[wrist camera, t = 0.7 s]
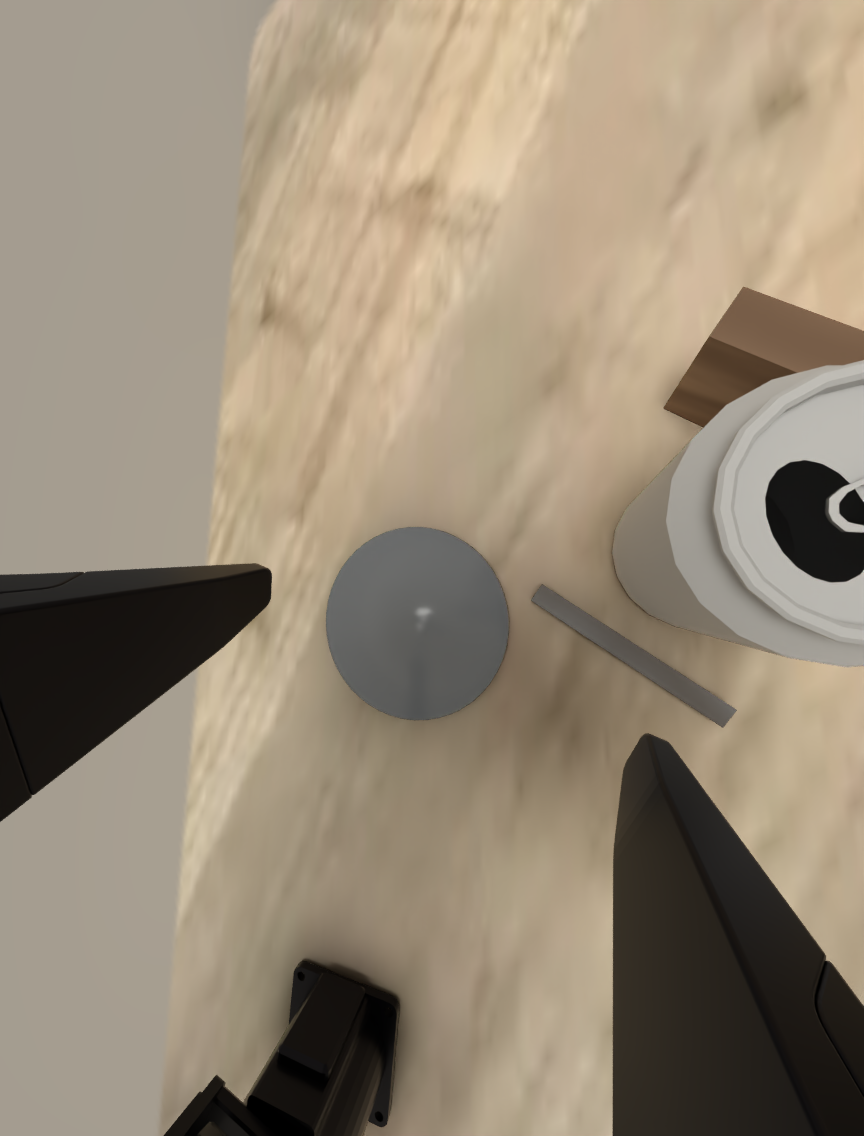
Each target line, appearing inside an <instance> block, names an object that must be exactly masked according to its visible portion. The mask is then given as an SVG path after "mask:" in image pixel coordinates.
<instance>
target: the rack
mask: <svg viewBox="0 0 864 1136" xmlns="http://www.w3.org/2000/svg"><path fill="white" fill-rule="evenodd" d="M862 360H864V331H862V330H859V329H857V328H854V327H851V326H849V325H846V324H843V323H840V322H838V321H835V320H832V319H830V318H827V317H824V316H822V315H819V314H816V313H813V312H811V311H808V310H805V309H803V308H800V307H797V306H794V305H792V304H789V303H786V302H784V301H781V300H778V299H776V298H773V297H770V296H767V295H765V294H762V293H759V292H757V291H754V290H751V289H748V288H746V287H743V288H742V289H741V291H740V292H739V294H738V295H737V297H736V298H735V299H734V301H733V302H732V304H731V305H730V307H729V308H728V310H727V311H726V313H725V314H724V316H723V317H722V318H721V320H720V321H719V323H718V324H717V326H716V327H715V329H714V330H713V332H712V333H711V334H710V336H709V337H708V339H707V341H706V342H705V344H704V345H703V347H702V348H701V350H700V352H699V353H698V355H697V356H696V358H695V359H694V361H693V363H692V364H691V366H690V367H689V369H688V370H687V372H686V374H685V375H684V377H683V378H682V380H681V381H680V383H679V385H678V386H677V388H676V389H675V391H674V392H673V394H672V395H671V397H670V399H669V400H668V402H667V403H666V405H665V406H664V409H666V410H668V411H670V412H673V413H675V414H677V415H679V416H681V417H683V418H685V419H687V420H690V421H692V422H694V423H696V424H698V425H700V426H702V427H705V426H706V425H707V424H708V423H709V422H710V421H711V420H712V419H713V418H714V417H715V416H716V415H717V414H718V413H719V412H720V411H721V410H722V409H723V408H724V407H725V406H726V405H727V404H729V403H731V402H733V401H734V400H736V399H738V398H740V397H742V396H743V395H745V394H747V393H749V392H751V391H752V390H754V389H756V388H758V387H760V386H761V385H763V384H765V383H767V382H769V381H770V380H772V379H776V378H780V377H784V376H788V375H792V374H796V373H799V372H803V371H807V370H811V369H815V368H819V367H823V366H827V365H847V364H850V363H854V362H858V361H862ZM531 601H533V602H534V603H536V604H537V605H539V606H540V607H542V608H543V609H545V610H546V611H548V612H549V613H551V614H552V615H554V616H555V617H557V618H558V619H560V620H561V621H563V622H564V623H566V624H567V625H569V626H570V627H572V628H573V629H575V630H576V631H578V632H579V633H581V634H582V635H584V636H585V637H587V638H588V639H590V640H591V641H593V642H594V643H596V644H597V645H599V646H600V647H602V648H603V649H605V650H606V651H608V652H609V653H611V654H612V655H614V656H615V657H617V658H618V659H620V660H622V661H623V662H625V663H626V664H628V665H629V666H631V667H632V668H634V669H635V670H637V671H638V672H640V673H641V674H643V675H644V676H646V677H647V678H649V679H650V680H652V681H653V682H655V683H656V684H658V685H659V686H661V687H662V688H664V689H665V690H667V691H668V692H670V693H671V694H673V695H674V696H676V697H677V698H679V699H680V700H682V701H683V702H685V703H686V704H688V705H689V706H691V707H692V708H694V709H695V710H697V711H698V712H700V713H701V714H703V715H704V716H706V717H707V718H709V719H710V720H712V721H713V722H715V723H716V724H718V725H720V726H721V727H724V726H725V725H726V723H727V722H728V721H729V720H730V718H731V717H732V716H733V714H734V713H735V712H736V711H737V710H736V709H735V708H733V707H732V706H730V705H728V704H727V703H725V702H724V701H722V700H721V699H719V698H718V697H716V696H714V695H713V694H711V693H710V692H708V691H707V690H705V689H704V688H702V687H701V686H699V685H697V684H696V683H694V682H693V681H691V680H690V679H688V678H687V677H685V676H684V675H682V674H680V673H679V672H677V671H676V670H674V669H673V668H671V667H670V666H668V665H666V664H665V663H663V662H662V661H660V660H659V659H657V658H656V657H654V656H653V655H651V654H649V653H648V652H646V651H645V650H643V649H642V648H640V647H639V646H637V645H635V644H634V643H632V642H631V641H629V640H628V639H626V638H625V637H623V636H622V635H620V634H618V633H617V632H615V631H614V630H612V629H611V628H609V627H608V626H606V625H605V624H603V623H601V622H600V621H598V620H597V619H595V618H594V617H592V616H591V615H589V614H587V613H586V612H584V611H583V610H581V609H580V608H578V607H577V606H575V605H574V604H572V603H570V602H569V601H567V600H566V599H564V598H563V597H561V596H560V595H558V594H557V593H555V592H553V591H552V590H550V589H549V588H547V587H546V586H544V585H543V584H542V585H541V586H540V588H539V589H538V591H537V592H536V594H535V595H534V597H533V598H532V599H531Z"/></svg>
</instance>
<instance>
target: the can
mask: <svg viewBox="0 0 864 1136" xmlns="http://www.w3.org/2000/svg"><path fill="white" fill-rule="evenodd" d="M612 555H613V560H614V565H615V570H616V574H617V577H618V579H619V581H620V582H621V584H622V586H623V587H624V589H625V591H626V592H627V594H628V596H629V597H630V598H631V599H632V600H633V601H634V602H635V603H636V604H638V605H639V606H640V607H641V608H642V609H643V610H644V611H646V612H647V613H648V614H649V615H651V616H653V617H655V618H658V619H660V620H662V621H664V622H666V623H668V624H671V625H673V626H676V627H679V628H683V629H686V630H690V631H694V632H697V633H701V634H704V635H708V636H712V637H715V638H719V639H722V640H726V641H730V642H733V643H737V644H740V645H744V646H748V647H751V648H755V649H759V650H762V651H766V652H769V653H773V654H777V655H780V656H784V657H787V658H793V659H799V660H805V661H811V662H817V663H823V664H829V665H836V666H842V667H857V666H864V360H862V361H858V362H854V363H850V364H847V365H827V366H823V367H819V368H815V369H811V370H807V371H803V372H799V373H796V374H792V375H788V376H784V377H780V378H776V379H772V380H770V381H769V382H767V383H765V384H763V385H761V386H760V387H758V388H756V389H754V390H752V391H751V392H749V393H747V394H745V395H743V396H742V397H740V398H738V399H736V400H734V401H733V402H731V403H729V404H727V405H726V406H725V407H724V408H723V409H722V410H721V411H720V412H719V413H718V414H717V415H716V416H715V417H714V418H713V419H712V420H711V421H710V422H709V423H708V424H707V425H706V426H705V427H704V428H703V429H702V430H701V431H700V432H699V433H698V434H697V435H696V436H695V437H694V438H693V439H692V440H691V441H690V442H689V443H688V444H687V445H686V446H685V447H684V448H683V449H682V450H681V451H680V452H679V453H678V454H677V455H676V457H675V458H674V459H673V460H672V461H671V462H670V463H669V464H668V465H667V466H666V467H665V468H664V469H663V470H662V471H661V472H660V473H659V474H658V475H657V476H656V477H655V478H654V479H653V481H652V482H651V483H650V484H649V485H648V486H647V487H646V488H645V489H644V490H643V491H642V492H641V493H640V494H639V495H638V496H637V497H636V498H635V499H634V500H633V501H632V502H631V503H630V505H629V506H628V507H627V508H626V509H625V511H624V513H623V515H622V517H621V519H620V521H619V523H618V525H617V527H616V529H615V535H614V542H613V549H612Z"/></svg>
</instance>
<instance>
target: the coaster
mask: <svg viewBox="0 0 864 1136" xmlns="http://www.w3.org/2000/svg"><path fill="white" fill-rule="evenodd" d="M326 630H327V638H328V643H329V648H330V651H331V654H332V657H333V660H334V662H335V664H336V667H337V669H338V671H339V672H340V674H341V676H342V677H343V679H344V680H345V682H346V683H347V684H348V685H349V687H350V688H351V689H352V690H353V691H354V692H355V693H356V694H357V695H358V696H359V697H360V698H361V699H362V700H364V701H365V702H366V703H368V704H369V705H370V706H372V707H374V708H376V709H377V710H379V711H381V712H384V713H386V714H388V715H391V716H394V717H398V718H402V719H410V720H429V719H435V718H440V717H443V716H446V715H450V714H452V713H454V712H456V711H458V710H460V709H462V708H464V707H465V706H467V705H468V704H470V703H471V702H472V701H474V700H475V699H476V698H477V697H478V696H479V695H480V694H481V693H482V692H483V691H484V690H485V689H486V687H487V686H488V685H489V684H490V682H491V681H492V679H493V678H494V676H495V674H496V673H497V671H498V669H499V667H500V665H501V662H502V660H503V657H504V654H505V650H506V647H507V641H508V634H509V616H508V608H507V603H506V599H505V595H504V592H503V590H502V587H501V585H500V582H499V580H498V578H497V577H496V575H495V573H494V571H493V570H492V568H491V567H490V566H489V564H488V563H487V562H486V560H485V559H484V558H483V557H482V556H481V555H480V554H479V553H478V552H477V551H476V550H475V549H473V548H472V547H471V546H469V545H468V544H467V543H465V542H464V541H462V540H460V539H458V538H457V537H455V536H453V535H450V534H448V533H446V532H443V531H439V530H435V529H432V528H423V527H407V528H400V529H395V530H392V531H388V532H385V533H383V534H381V535H379V536H376V537H374V538H373V539H371V540H370V541H368V542H366V543H365V544H364V545H362V546H361V547H360V548H359V549H357V550H356V551H355V552H354V553H353V554H352V556H351V557H350V558H349V559H348V560H347V561H346V563H345V564H344V566H343V567H342V568H341V570H340V572H339V574H338V575H337V577H336V579H335V582H334V584H333V587H332V589H331V592H330V596H329V600H328V606H327V612H326Z"/></svg>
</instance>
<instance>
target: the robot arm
mask: <svg viewBox="0 0 864 1136" xmlns="http://www.w3.org/2000/svg"><path fill="white" fill-rule="evenodd" d="M271 583H272V573H271V571H270V570H269V569H268V568H266V567H264V566H261V565H259V564H255V563H252V564H232V565H212V566H192V567H171V568H151V569H131V570H111V571H91V572H85V573H84V572H71V573H70V572H69V573H47V574H17V575H15V574H13V575H0V822H1V821H2V820H3V819H5V818H6V817H7V816H8V815H10V814H11V813H12V812H14V811H15V810H16V809H17V808H19V807H20V806H21V805H23V804H24V803H25V802H26V801H28V800H29V799H30V798H31V797H32V795H34V794H36V793H37V792H39V791H40V790H41V789H43V788H44V787H45V786H46V785H48V784H49V783H50V782H51V781H53V780H54V779H55V778H57V777H58V776H59V775H60V774H62V773H63V772H64V771H65V770H67V769H68V768H69V767H71V766H72V765H73V764H74V763H76V762H77V761H78V760H80V759H81V758H82V757H83V756H85V755H86V754H87V753H88V752H90V751H91V750H92V749H94V748H95V747H96V746H97V745H99V744H100V743H101V742H103V741H104V740H105V739H106V738H108V737H109V736H110V735H112V734H113V733H114V732H115V731H117V730H118V729H119V728H121V727H122V726H123V725H124V724H126V723H127V722H128V721H130V720H131V719H132V718H133V717H135V716H136V715H137V714H138V713H140V712H141V711H142V710H144V709H145V708H146V707H148V706H149V705H150V704H151V703H153V702H154V701H155V700H156V699H158V698H159V697H160V696H161V695H163V694H164V693H165V692H167V691H168V690H169V689H171V688H172V687H173V686H174V685H176V684H177V683H178V682H180V681H181V680H182V679H183V678H185V677H186V676H187V675H188V674H190V673H191V672H192V671H194V670H195V669H196V668H197V667H199V666H200V665H201V664H203V663H204V662H205V661H206V660H208V659H209V658H210V657H212V656H213V655H214V654H215V653H217V652H218V651H219V650H220V649H221V648H223V647H224V646H225V645H226V644H227V643H228V642H229V641H231V640H232V639H233V638H234V637H235V636H236V635H237V634H238V633H239V632H240V631H241V630H242V629H243V628H244V627H245V626H247V625H248V624H249V623H250V622H251V621H252V620H253V619H254V618H255V617H256V616H257V615H258V614H259V613H260V612H261V611H262V610H263V609H265V608H266V606H267V605H268V604H269V602H270V599H271ZM825 960H826V955H825V953H824V952H823V951H822V949H821V948H820V946H819V945H818V944H817V942H816V941H815V940H814V938H813V937H812V936H811V934H810V933H809V932H808V930H807V929H806V927H805V926H804V925H803V923H802V922H801V921H800V919H799V918H798V917H797V915H796V914H795V913H794V911H793V910H792V908H791V907H790V906H789V904H788V903H787V902H786V900H785V899H784V898H783V896H782V895H781V894H780V892H779V891H778V889H777V888H776V887H775V885H774V884H773V883H772V881H771V880H770V879H769V877H768V876H767V875H766V873H765V872H764V870H763V869H762V868H761V866H760V865H759V864H758V862H757V861H756V860H755V858H754V857H753V856H752V854H751V853H750V851H749V850H748V849H747V847H746V846H745V845H744V843H743V842H742V841H741V839H740V838H739V836H738V835H737V834H736V832H735V831H734V830H733V828H732V827H731V826H730V824H729V823H728V822H727V820H726V819H725V817H724V816H723V815H722V813H721V812H720V811H719V809H718V808H717V807H716V805H715V804H714V803H713V801H712V800H711V798H710V797H709V796H708V794H707V793H706V792H705V790H704V789H703V788H702V786H701V785H700V784H699V782H698V781H697V779H696V778H695V777H694V775H693V774H692V773H691V771H690V770H689V769H688V767H687V766H686V765H685V763H684V762H683V760H682V759H681V758H680V756H679V755H678V754H677V752H676V751H675V750H674V748H673V747H672V746H671V744H670V743H669V742H667V741H665V740H663V739H661V738H658V737H656V736H654V735H651V734H649V733H647V734H644V735H643V736H642V737H641V738H640V740H639V742H638V743H637V745H636V747H635V748H634V750H633V751H632V753H631V755H630V756H629V758H628V760H627V762H626V764H625V767H624V770H623V776H622V784H621V792H620V800H619V808H618V817H617V825H616V833H615V842H614V856H613V1136H864V1006H863V1004H862V1003H861V1002H860V1000H859V999H858V998H857V996H856V995H855V994H854V992H853V991H852V990H851V988H850V987H849V986H848V984H847V983H846V981H845V980H844V979H843V977H842V976H841V975H840V973H839V972H838V971H837V969H836V968H835V967H834V965H833V964H832V963H831V962H829V961H825ZM302 972H303V973H304V974H303V973H302ZM388 1007H389V1008H390V1009H391V1010H390V1009H389V1008H388ZM398 1019H399V1003H398V1001H397V1000H396V998H395V997H393V996H391V995H389V994H386V993H384V992H381V991H379V990H376V989H374V988H371V987H369V986H366V985H364V984H361V983H359V982H356V981H354V980H351V979H349V978H346V977H344V976H341V975H339V974H336V973H334V972H331V971H329V970H326V969H324V968H321V967H319V966H316V965H314V964H311V963H309V962H306V961H302V962H300V963H299V964H298V966H297V967H296V969H295V971H294V977H293V987H292V997H291V1008H290V1018H289V1026H288V1028H287V1029H286V1031H285V1033H284V1034H283V1036H282V1038H281V1040H280V1041H279V1043H278V1045H277V1046H276V1048H275V1050H274V1051H273V1053H272V1055H271V1056H270V1058H269V1060H268V1061H267V1063H266V1065H265V1066H264V1068H263V1070H262V1072H261V1073H260V1075H259V1077H258V1078H257V1080H256V1082H255V1083H254V1085H253V1087H252V1088H251V1090H250V1092H249V1093H248V1095H247V1097H246V1098H245V1100H244V1102H242V1101H240V1100H239V1099H238V1098H237V1097H236V1096H235V1095H234V1094H233V1093H232V1092H231V1091H230V1090H228V1089H227V1088H226V1087H225V1086H224V1085H225V1082H224V1081H223V1080H222V1079H221V1078H220V1077H219V1076H218V1075H216V1076H215V1077H214V1078H213V1080H212V1081H211V1082H210V1083H209V1084H208V1086H207V1087H206V1088H205V1089H204V1091H203V1092H202V1093H201V1092H199V1093H198V1094H197V1095H196V1097H195V1098H194V1099H193V1100H192V1102H191V1103H190V1104H189V1105H188V1106H187V1108H186V1109H185V1110H184V1111H183V1113H182V1114H181V1115H180V1116H179V1117H178V1119H177V1120H176V1121H175V1122H174V1124H173V1125H172V1126H171V1127H170V1129H169V1130H168V1131H167V1132H166V1133H165V1135H164V1136H363V1134H364V1131H365V1129H366V1126H367V1123H368V1121H369V1122H371V1123H373V1124H375V1125H377V1126H379V1127H384V1126H385V1125H386V1124H387V1121H388V1118H389V1115H390V1111H391V1099H392V1088H393V1076H394V1065H395V1053H396V1042H397V1031H398Z"/></svg>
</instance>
